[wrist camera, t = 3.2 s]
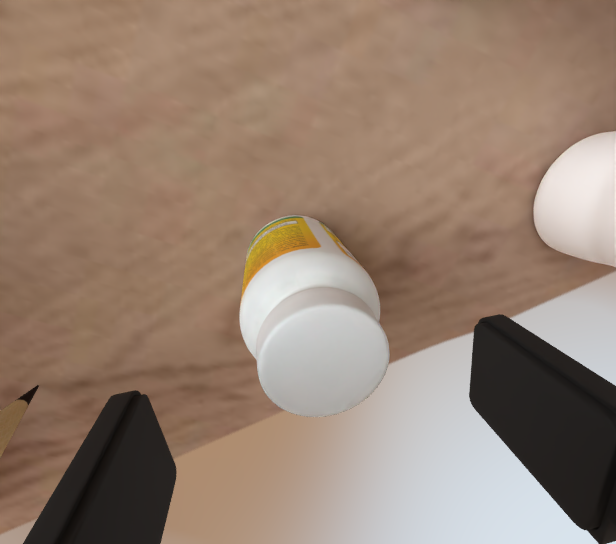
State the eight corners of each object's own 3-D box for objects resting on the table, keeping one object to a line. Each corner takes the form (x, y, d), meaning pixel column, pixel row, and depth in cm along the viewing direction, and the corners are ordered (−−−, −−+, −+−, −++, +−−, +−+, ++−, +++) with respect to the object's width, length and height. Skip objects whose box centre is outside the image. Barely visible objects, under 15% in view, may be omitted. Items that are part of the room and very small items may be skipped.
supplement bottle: (352, 229, 18) (445, 308, 9) (320, 310, 20) (373, 443, 11) (260, 200, 17) (264, 259, 8) (234, 289, 18) (214, 423, 9)
